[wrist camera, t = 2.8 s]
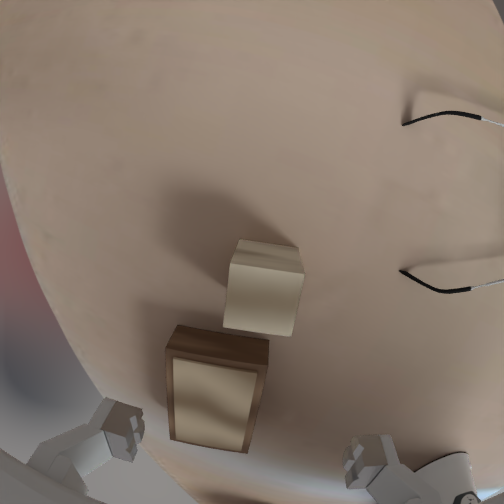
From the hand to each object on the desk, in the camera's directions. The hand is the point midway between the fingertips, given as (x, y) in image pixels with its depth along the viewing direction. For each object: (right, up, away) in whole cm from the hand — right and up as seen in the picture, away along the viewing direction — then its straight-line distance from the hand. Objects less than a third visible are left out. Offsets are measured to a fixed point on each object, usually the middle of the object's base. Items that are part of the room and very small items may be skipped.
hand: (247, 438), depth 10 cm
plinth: (-4, -7, +21) cm, 23 cm away
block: (+1, +5, +17) cm, 18 cm away
